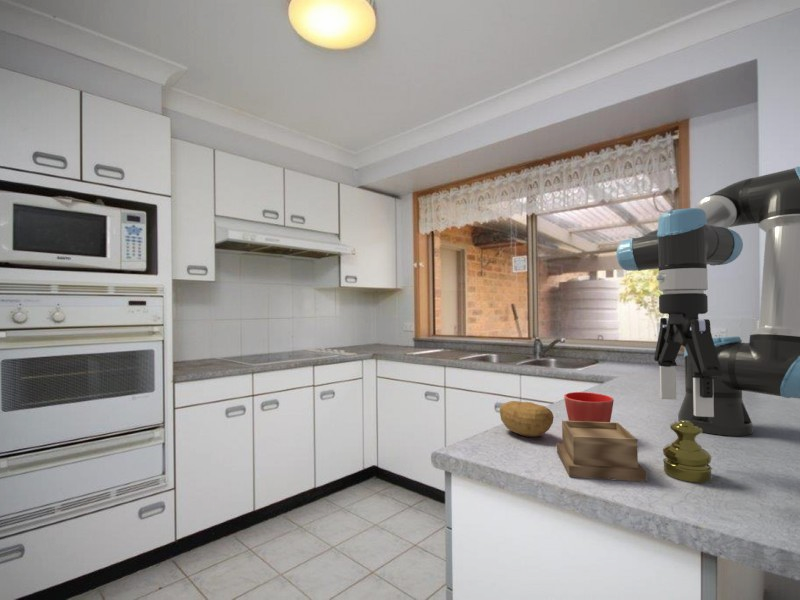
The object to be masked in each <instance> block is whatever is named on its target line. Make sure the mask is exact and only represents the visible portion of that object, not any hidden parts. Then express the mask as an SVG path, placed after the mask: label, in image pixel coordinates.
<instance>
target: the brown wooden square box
mask: <svg viewBox="0 0 800 600" xmlns="http://www.w3.org/2000/svg"><path fill="white" fill-rule="evenodd" d="M561 429H562V430H561V432H562V433H561V435H562V442H561V443H560V442H557V443H556V453H557V456H558V457H559V459H560V461H561V463H562V465H563V467H564V469H565V471H566V474H567V475H568V477H570V478H585V479H595V478H599V479H600V480H610V479H616V480H615V481H625V480H628V481H627V482H629V481H630V482H641V481H646V482H647V470H646V469H645V468H644V467H643V466H642V465H641V464H640V463H639V459H638V458H639V457H638V452H639V451H638V438H636V437H635V436H634V435H633V434H631V433H630V432H629V430H627V429H626V428H625V427H623V425H621V424H620V423H619V422H614V421H613V422H611V421H610V422H589V421H569V420H564V419H563V420H561ZM599 479H598V480H599Z"/></svg>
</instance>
